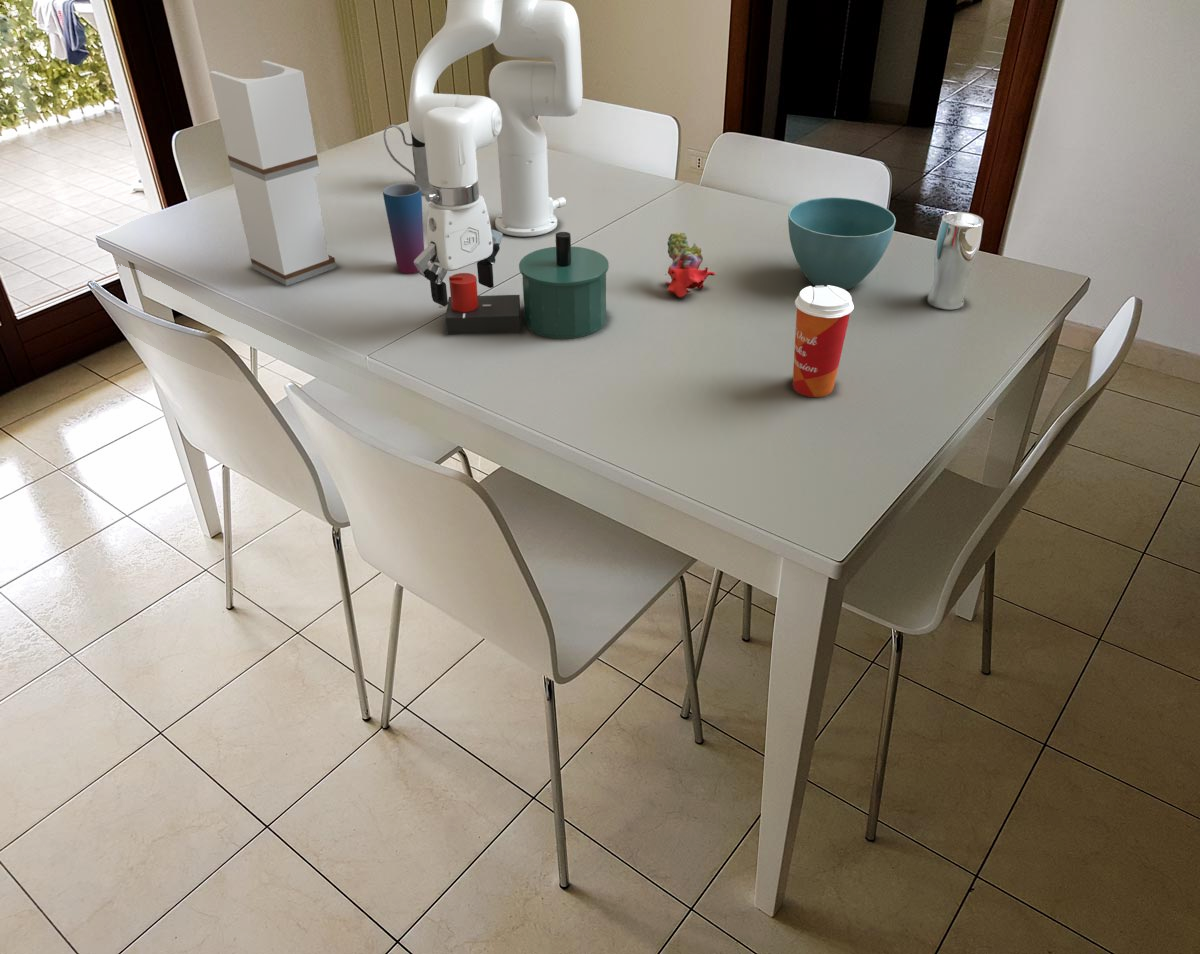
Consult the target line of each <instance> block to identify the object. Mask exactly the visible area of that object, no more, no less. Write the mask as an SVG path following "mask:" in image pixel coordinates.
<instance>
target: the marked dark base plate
mask: <svg viewBox="0 0 1200 954" xmlns="http://www.w3.org/2000/svg"><path fill="white" fill-rule="evenodd" d="M447 299H448V304H447V306H442V305H439V306H438V308H439V309H440V308H441V309H443V308H446V312H445V327H446V334H447V335H467V334H468V335H470V334H471V335H472V334H473V335H474V334H501V333H502V334H503V333H506V334H507V333H520V332H521V313H522V312H521V311H522V310H521V295H520V294H498V295H497V294H496V295H495V294H494V295H493V294H492V295H478V308H477V309H475V310H473V311H469V312H458V311H455V310H453V308H452V303H451V296H448V298H447Z"/></svg>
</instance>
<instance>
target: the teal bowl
mask: <svg viewBox="0 0 1200 954" xmlns="http://www.w3.org/2000/svg"><path fill="white" fill-rule="evenodd" d="M787 220H788V221H787V224H788V226H787V227H788V237H789V241H790V246H791V249H792V252H793V255H794V258H795V260H796V262H797V264H798V266H799V268H800V269H801V271H802V272H803V274H804V276H805V277H806V279H807V280H808V281H809V282H810V283H811V284H812V285H813V286H814V287H815V286H824V287H827V285H830V286H835V287H839V288H842V289H844V290H846V291H847V290H849V289H852V288H854V287H855V286H857V285H858V284H859V283H861V282H862V281H863V280H864V279H865V278H866V277H867V276H869V274H870V273H871V272H872V271H873V270H874V269H875V268H876V266H877V265H878V263H880V261H881V259H882V258H883V256H884V254H885V252H886V251H887V248H889V247H888V246H889V244H890V242H891V240H892V236H893V233H894V231H895V226H896V222H897V219H896V217H895V215H894V213H893V212H892V211H890V209H888V208H886V207H884V206H882V205H879V204H877V203H874V202H871V201H867V200H863V199H857V198H851V197H838V196H837V197H833V196H831V197H818V198H812V199H807V200H804V201H801V202H799V203H797V204H794V205H793V206H792V207H791V208H790V209H789V211H788V219H787Z"/></svg>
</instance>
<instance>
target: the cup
mask: <svg viewBox="0 0 1200 954" xmlns="http://www.w3.org/2000/svg"><path fill="white" fill-rule="evenodd" d="M381 192H382V196H383V201H384V207H385V211H386V216H387V223H388V227H389V231H390V232H389V233H390V237H391V242H392V247H393V251H394V257H395V263H396V267H397V271H398V272H399V273H402V274H405V275H410V274H411V275H412V274H419V273H420V272H419V270H418V269H417V267H416V266H415V264H414V260H415V259H416V258H417V257H418V256H419V255H420V254H421V253H422V252H423V251H424V250H425V240H424V220H423V219H424V218H423V197H422V196H423V194H421V187H420V186H419V185H416V183H411V182H398V183H393V184H389V185H387V186H385V187H383V189H382V191H381Z"/></svg>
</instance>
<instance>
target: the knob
mask: <svg viewBox="0 0 1200 954" xmlns="http://www.w3.org/2000/svg"><path fill="white" fill-rule="evenodd" d="M448 282H449V283H448V284H449V291H450V297H451V303H452V308H453V310H455V311H458V312H469V311H473V310H475V309H477V308H478V296H479V295H478V294H479V293H478V283H477V282H478V281H477V276H476V275H475V274H472V273H469V272H458V273H455V274H453V275H451V276H449V275H448Z"/></svg>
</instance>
